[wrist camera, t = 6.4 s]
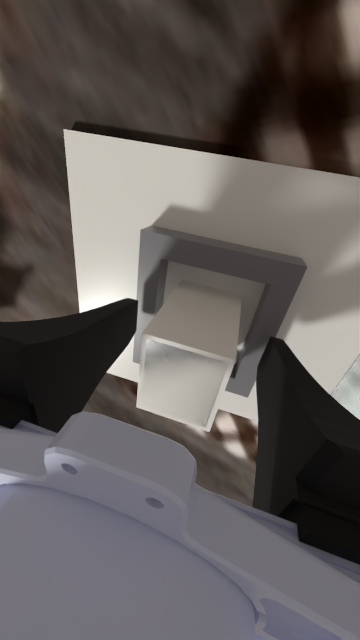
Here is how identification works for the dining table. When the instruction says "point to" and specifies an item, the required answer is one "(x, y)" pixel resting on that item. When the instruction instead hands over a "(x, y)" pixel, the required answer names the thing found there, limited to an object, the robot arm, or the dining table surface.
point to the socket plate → (220, 249)
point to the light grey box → (189, 354)
